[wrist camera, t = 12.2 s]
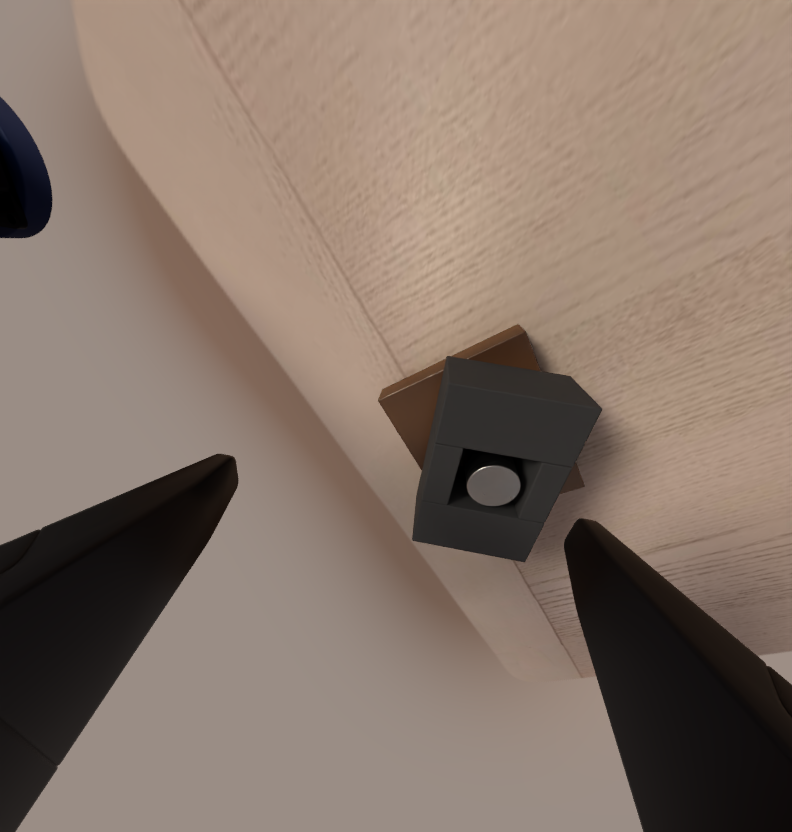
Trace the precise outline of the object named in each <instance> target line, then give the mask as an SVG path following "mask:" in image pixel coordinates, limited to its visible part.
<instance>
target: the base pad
mask: <svg viewBox="0 0 792 832" xmlns="http://www.w3.org/2000/svg"><path fill="white" fill-rule="evenodd" d="M451 357H457V358H463V359H469V360H475V361H481V362H487V363H493V364H499V365H505V366H512V367H518V368H524V369H530V370H536V371H541V370H540V368H539V365H538V363H537V360H536V357H535V355H534V352H533V350H532V347H531V344H530V342H529V339H528V337H527V334H526V332H525V331H524V330H523V328H522V327H521V326H520V325H519V324H517V325H515V326H513V327H511V328H509V329H507V330H505V331H503V332H501V333H499V334H497V335H494V336H492V337H490V338H488V339H486V340H484V341H482V342H480V343H478V344H476V345H474V346H472V347H470V348H468V349H465V350H463V351H461V352H459V353H457V354H455V355H453V356H451ZM445 362H446V359H445V360H443V361H441V362H438V363H436V364H434V365H432V366H430V367H428V368H426V369H424V370H422V371H420V372H418V373H416V374H414V375H411V376H409V377H407V378H405V379H403V380H401V381H399V382H397V383H395V384H393V385H391V386H389V387H387V388H385V389H383V390H382V392H381V394H380V397H379V399H378V401H379V403H380V405H381V406H382V408H383V409H384V411H385V413H386V414H387V416H388V417H389V419H390V420H391V422H392V424H393V425H394V427H395V428H396V430H397V432H398V433H399V435H400V436H401V438H402V440H403V441H404V443H405V444H406V446H407V448H408V449H409V451H410V452H411V454H412V456H413V457H414V459H415V460H416V462H417V464H418V465H419V467H420V468H421V470H422V468H423V463H424V460H425V454H426V450H427V445H428V440H429V436H430V431H431V426H432V422H433V417H434V412H435V409H436V403H437V399H438V394H439V389H440V385H441V380H442V375H443V371H444V366H445ZM459 465H460V466H464V467H465V477H466V486H467V492H468V494H469V495H470V497H471V498H472V499H473V500H474V501H476V502H478V503H480V504H482V505H486V506H500V505H503V504H506V503H508V502H510V501H512V500H513V499H514V498H515V497H516V496H517V495H518V493H519V490H520V486H521V483H520V479H519V476H518V473H517V470H516V467H515V464H514V461H513V458H512V457H511V456H505V455H500V454H494V453H488V452H483V451H477V450H472V449H466V448H463V452H462V456H461V459H460V463H459ZM582 487H585V485H584V482H583V480H582V477H581V475H580V472H579V469H578V467H577V464H576V462H575V464H574V466H573V467H572V470H571V472H570V474H569V476H568V478H567V480H566V482H565V484H564V486H563V487H562V489H561V491H560V493H559V494H562V493H565V492H568V491H572V490H575V489H579V488H582Z"/></svg>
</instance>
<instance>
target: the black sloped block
mask: <svg viewBox="0 0 792 832" xmlns="http://www.w3.org/2000/svg"><path fill="white" fill-rule="evenodd" d="M601 411H602V408H601V407H600V406H599V405H598V404H597V403H596V402H595V401H594V400H593V399H592V398H591V397H590V396H589V395H588V394H587V393H586V392H585V391H584V390H583V389H582V388H581V387H580V386H579V385H578V384H577V383H576V382H575V380H574V379H573V378H572V377H570V376H566V375H560V374H554V373H548V372H542V371H536V370H530V369H524V368H518V367H512V366H505V365H499V364H493V363H487V362H481V361H475V360H469V359H463V358H457V357H451V356H447V357H446V362H445V366H444V371H443V375H442V380H441V385H440V389H439V394H438V399H437V403H436V409H435V412H434V417H433V422H432V426H431V431H430V436H429V440H428V445H427V450H426V454H425V460H424V463H423V468H422V473H421V477H420V482H419V487H418V491H417V496H416V507H415V517H414V527H413V538H412V540H413V541H417V542H422V543H428V544H433V545H438V546H443V547H448V548H454V549H459V550H464V551H469V552H474V553H480V554H485V555H490V556H495V557H500V558H505V559H511V560H516V561H521V562H525V561H526V559H527V557H528V555H529V553H530V551H531V549H532V547H533V545H534V543H535V541H536V539H537V537H538V535H539V533H540V531H541V530H542V528H543V526H544V522H545V521H546V519H547V517H548V515H549V513H550V511H551V509H552V507H553V505H554V503H555V501H556V499H557V497H558V495H559V493H560V491H561V489H562V487H563V486H564V484H565V482H566V480H567V478H568V476H569V474H570V472H571V470H572V467H573V466H574V464H575V462H576V460H577V458H578V456H579V454H580V452H581V450H582V448H583V446H584V444H585V442H586V440H587V438H588V436H589V434H590V433H591V431H592V429H593V427H594V425H595V423H596V421H597V419H598V417H599V415H600V413H601ZM463 448H466V449H472V450H477V451H483V452H488V453H494V454H500V455H505V456H511V457H512V458H513V461H514V464H515V467H516V470H517V473H518V476H519V479H520V483H521V486H520V490H519V493H518V495H517V496H516V497H515V498H514V499H513V500H512V501H510V502H508V503H506V504H503V505H500V506H486V505H482V504H480V503H478V502H476V501H474V500H473V499H472V498H471V497H470V495H469V494H468V492H467V486H466V477H465V467H464V466H460V465H459V463H460V459H461V456H462V452H463Z"/></svg>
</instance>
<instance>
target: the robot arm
mask: <svg viewBox="0 0 792 832" xmlns="http://www.w3.org/2000/svg"><path fill="white" fill-rule="evenodd" d="M0 226H1V227H7V228H13V229H26V228H27V227H28V222H27V219H26V216H25V213H24V211H23V208H22V205H21V203H20V200H19V197H18V195H17V192H16V189H15V187H14V184H13V181H12V179H11V176H10V173H9V171H8V168H7V165H6V162H5V160H4V157H3V154H2V152H1V149H0ZM237 486H238V473H237V466H236V460H235V458H234V457H233V456H230V455H224V454H216V455H213V456H211V457H208V458H206V459H204V460H201V461H199V462H197V463H194V464H192V465H190V466H187V467H185V468H182V469H180V470H178V471H175V472H173V473H171V474H168V475H166V476H164V477H161V478H159V479H156V480H154V481H152V482H149V483H147V484H145V485H142V486H140V487H137V488H135V489H133V490H130V491H128V492H126V493H123V494H121V495H119V496H116V497H114V498H112V499H109V500H107V501H104V502H102V503H100V504H97V505H95V506H93V507H90V508H88V509H85V510H83V511H81V512H78V513H76V514H73V515H71V516H69V517H66V518H64V519H62V520H59V521H57V522H55V523H52V524H50V525H47V526H45V527H43V528H42V529H41V530H36V531H33V532H31V533H28V534H26V535H24V536H21V537H19V538H17V539H14V540H12V541H10V542H7V543H5V544H2V545H0V832H15V831H16V830H17V828H18V827H19V825H20V824H21V822H22V821H23V819H24V818H25V816H26V815H27V813H28V812H29V810H30V809H31V807H32V806H33V804H34V803H35V801H36V800H37V798H38V797H39V795H40V794H41V792H42V791H43V789H44V788H45V786H46V785H47V784H48V782H49V781H50V779H51V778H52V776H53V774H54V773H55V772H56V770H57V766H58V765H59V764H60V763H61V762H62V760H63V759H64V757H65V756H66V754H67V753H68V751H69V750H70V748H71V747H72V745H73V744H74V742H75V741H76V739H77V738H78V736H79V735H80V733H81V732H82V731H83V729H84V727H85V726H86V725H87V723H88V722H89V720H90V719H91V717H92V716H93V714H94V713H95V711H96V709H97V708H98V707H99V705H100V704H101V702H102V700H103V699H104V698H105V696H106V694H107V693H108V692H109V690H110V688H111V687H112V686H113V684H114V683H115V681H116V679H117V678H118V677H119V675H120V673H121V672H122V671H123V669H124V668H125V666H126V665H127V663H128V662H129V660H130V659H131V657H132V656H133V654H134V653H135V651H136V650H137V648H138V647H139V645H140V644H141V642H142V641H143V639H144V637H145V636H146V635H147V633H148V632H149V630H150V629H151V627H152V626H153V624H154V623H155V621H156V620H157V618H158V617H159V615H160V614H161V612H162V611H163V609H164V608H165V606H166V605H167V603H168V602H169V600H170V599H171V597H172V596H173V594H174V593H175V591H176V590H177V588H178V587H179V585H180V584H181V582H182V581H183V579H184V577H185V576H186V575H187V573H188V572H189V570H190V569H191V567H192V566H193V564H194V563H195V561H196V560H197V558H198V557H199V555H200V554H201V552H202V550H203V549H204V548H205V546H206V544H207V543H208V541H209V540H210V538H211V536H212V534H213V533H214V531H215V529H216V527H217V525H218V523H219V521H220V519H221V517H222V515H223V514H224V512H225V510H226V508H227V506H228V504H229V502H230V500H231V498H232V497H233V495H234V492H235V491H236V489H237ZM564 550H565V555H566V560H567V565H568V571H569V576H570V581H571V586H572V591H573V596H574V601H575V605H576V609H577V613H578V617H579V620H580V623H581V627H582V630H583V633H584V637H585V640H586V643H587V647H588V650H589V653H590V657H591V660H592V663H593V666H594V670H595V673H596V676H597V680H598V683H599V686H600V689H601V693H602V696H603V699H604V703H605V706H606V709H607V713H608V716H609V719H610V723H611V726H612V729H613V733H614V735H615V739H616V742H617V746H618V749H619V752H620V756H621V759H622V762H623V766H624V769H625V772H626V776H627V779H628V782H629V786H630V789H631V792H632V795H633V799H634V802H635V805H636V809H637V812H638V815H639V819H640V822H641V825H642V829H643V832H792V685H791V684H790V683H789V682H788V681H787V680H785V679H784V678H783V677H782V676H781V675H779V674H778V673H777V672H776V671H775V670H773V669H772V668H771V667H769V666H766V664H765V662H764V661H763V660H761V659H760V658H759V657H758V656H757V655H755V654H754V653H753V652H752V651H751V650H750V649H748V648H747V647H746V646H745V645H744V644H742V643H741V642H740V641H739V640H738V639H736V638H735V637H734V636H733V635H732V634H730V633H729V632H728V631H727V630H726V629H724V628H723V627H722V626H721V625H720V624H719V623H717V622H716V621H715V620H714V619H713V618H711V617H710V616H709V615H708V614H707V613H705V612H704V611H703V610H702V609H701V608H699V607H698V606H697V605H696V604H695V603H694V602H692V601H691V600H690V599H689V598H688V597H686V596H685V595H684V594H683V593H682V592H680V591H679V590H678V589H677V588H676V587H674V586H673V585H672V584H671V583H670V582H668V581H667V580H666V579H665V578H664V577H663V576H661V575H660V574H659V573H658V572H657V571H655V570H654V569H653V568H652V567H651V566H649V565H648V564H647V563H646V562H645V561H643V560H642V559H641V558H640V557H639V556H637V555H636V554H635V553H634V552H633V551H632V550H630V549H629V548H628V547H627V546H626V545H624V544H623V543H622V542H621V541H620V540H618V539H617V538H616V537H615V536H614V535H612V534H611V533H610V532H609V531H608V530H607V529H605V528H604V527H603V526H602V525H601V524H599V523H598V522H596V521H593V520H588V519H582V518H581V519H578V520H577V521H576V522H575V523H574V525H573V527H572V529H571V530H570V532H569V534H568V535H567V537H566V539H565V542H564Z"/></svg>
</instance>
